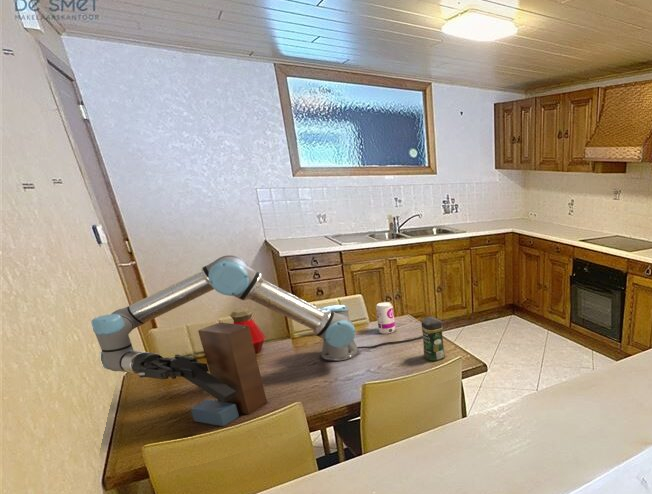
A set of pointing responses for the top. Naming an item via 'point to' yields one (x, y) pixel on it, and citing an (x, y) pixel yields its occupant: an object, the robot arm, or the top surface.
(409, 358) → the top surface
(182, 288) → the robot arm
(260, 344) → the bottle
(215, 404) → the base pad
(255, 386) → the walnut post
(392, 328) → the supplement can
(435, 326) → the coffee jar
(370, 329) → the top surface
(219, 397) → the back pad
